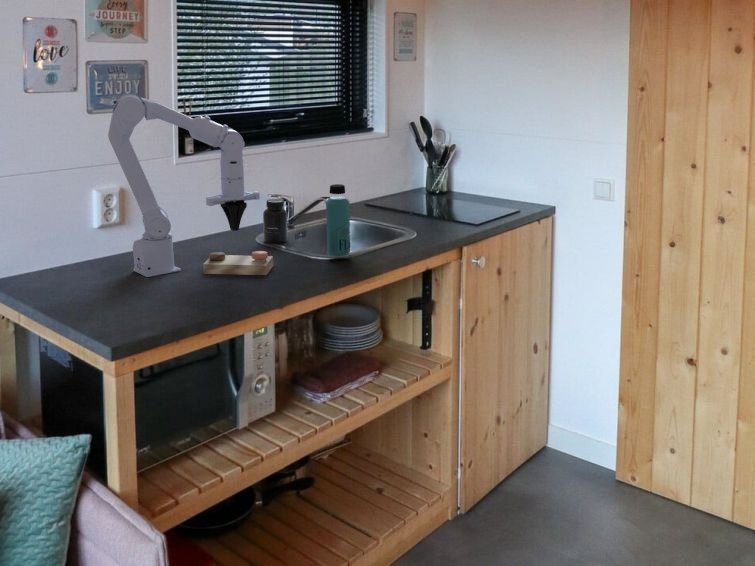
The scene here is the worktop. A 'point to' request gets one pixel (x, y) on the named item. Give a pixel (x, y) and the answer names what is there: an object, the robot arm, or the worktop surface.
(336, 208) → the beverage bottle
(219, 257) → the walnut plunger
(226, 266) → the board
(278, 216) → the supplement bottle
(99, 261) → the worktop surface
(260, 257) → the terracotta plunger
